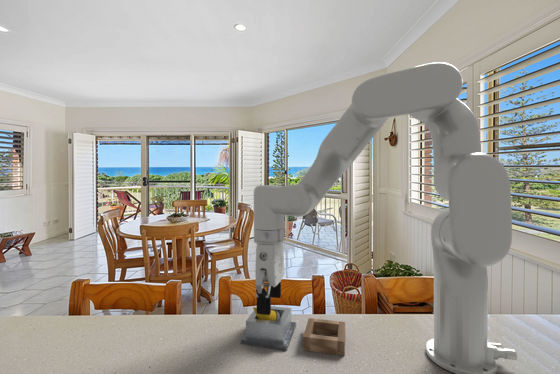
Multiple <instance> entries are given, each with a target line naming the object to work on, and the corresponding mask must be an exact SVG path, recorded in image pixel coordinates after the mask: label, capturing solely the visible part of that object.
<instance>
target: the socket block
mask: <svg viewBox="0 0 560 374" xmlns="http://www.w3.org/2000/svg"><path fill="white" fill-rule="evenodd" d="M302 350H303V351H305V352H306V351H307V352H313V353H314V352H315V353H321V354H329V355H335V356H342V357H345V354H346V352H345V351H346V321H342V320H341V321H338V320H332V319H331V320H330V319H329V320H328V319H322V318H321V319H320V318H311V317H309V318H308V320H307V323H306V326H305V330H304V332H303V337H302Z"/></svg>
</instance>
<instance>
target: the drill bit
mask: <svg viewBox="0 0 560 374" xmlns="http://www.w3.org/2000/svg"><path fill="white" fill-rule="evenodd" d="M252 308H253V311H255V313H256V315H257V317H258V319H261V320H270V321H278V322H279V320H280V315H279V313H278V312H277V311H276V310H274V309H271V313H270V315H263V314H257V308H256V307H254V306H253V307H252Z"/></svg>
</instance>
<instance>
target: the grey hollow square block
mask: <svg viewBox="0 0 560 374" xmlns="http://www.w3.org/2000/svg"><path fill="white" fill-rule="evenodd" d="M255 308H257V306H256V307H255ZM271 309H274V310H276V311H277V312H278V313H279V315H280V320H279V322H278V321H270V320H261V319H258V317H257V315H256V313H255V311H254V310H252V312H251V314H250V315H249V316H248V318H247V319H246V320H245V332H244V334H243V335H242V336H241V338H240V340H239V342H240V344H241V345H244V346H245V345H246V346H252V347H260V348H267V349H273V350H274V349H275V350H281V351H288V348H289V346H290V343H291V341H292V337H293V335H294V333H295V330H296V327H297V322H295V321H292V308H291V307H283V306H282V307H281V306H274V305H273V306H272V305H271Z"/></svg>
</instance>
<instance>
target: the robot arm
mask: <svg viewBox="0 0 560 374" xmlns="http://www.w3.org/2000/svg"><path fill="white" fill-rule="evenodd" d="M463 84H464V80H463V75H462V73H461V71H460V70H459V69H458V68H457V67H456V66H454V65H453V64H450V63H448V62H429V63H424V64H421V65H417V66H413V67H409V68H406V69H405V68H404V69H401V70H397V71H393V72H388V73H386V74H381V75H377V76H375V77H372V78H369V79H366V80H365V81H363V82H362V83H360V84H359V85H358V86H357V87H356V88H355V90H354V91H353V93H352V96H351V104H350V105H349V106H348V108H347V109H346V110H345V112H344V113H343V114H342V116H340V118H339V119H338V120H337V122H336V123H335V124H334V126H333V127H332V128H331V130H330V131H329V132H328V133H327V135H326V136H325V137H324V139H322V142H321V143H320V146H319V147H318V152H317V155H316V157H315V160H314V161H313V163H312V164H311V166H310V168H309V169H308V171H307V172H306V173H305V174H304V175H303V177H302V178H301V179H300V181H299V182H298V183H296V184H295V183H294V184H289V185H283V186H281V185H276V184H269V185H267V184H262V185H257V186H256V187H254V190H253V243H254V244H256V248H255V249H256V251H255V268H254V269H255V276H254V277H255V287H256V289H255V293H256V295H255V296H256V307H257V314H263V315H270V313H271V306H272V305H271V304H272V303H271V302H272V299H271V298H275V299H280V298H281V297H282V279H283V278H284V276H285V259H284V258H285V257H284V243H285V241H286V239H285V238H286V237H285V235H286V234H285V233H286V232H285V231H286V229H285V216H286V217H287V216H288V217H294V218H300V217H305V216H306V215H308V214H310V213H311V212H312V211H314V209H315V208H316V207H317V206H318V205H319V203H320V202H321V201H322V200H323V199H324V198H325V196H326V195H327V193H328V192H329V191H330V190H331V189H332V187H333V186H334V185H335V184H336V182H337V181H338V180H339V179H340V177H341V176H343V174H344V173H345V172H347V171H348V169H349V168H350V167H351V165H352V164H353V163H354V162H355V160H357V158H358V157H359V155H360V154H361V153H362V152H363V151H364V149H365V148H366V147H367V145H369V143H370V142H371V140H372V139H373V138H374V137H375V136H376V135H377V133H378V132H379V131H380V130H381V128H382V127H383V126H384V124H385V123H386V122H387V121H388V120H389V118H394V117H399V116H405V115H409V116H410V117H411V118H413V119H415V120H417V121H419V122H421V123H422V124H423V125H425V126H426V127H427V129H428V131H429V133H430V136H431V142H432V143H431V144H432V151H433V152H432V154H433V155H432V157H433V158H432V159H433V160H432V161H433V186H434V188H435V191H436V192H437V194H438V196H440V197H441V198H443V199H445V200H447V201H448V209H445V210H443V211H442V212H440V213H438V215H437V216H436V217H435V218H434V220H433V221H432V224H431V229H430V232H431V233H430V236H431V247H432V255H433V258H432V259H433V338H431V339H429V340H428V341H427V342H426V344H425V353H426V354H427V356H428V358H429V359H430V360H431V361H432V362H433V363H435V364H436V365H438V366H439V367H441V368H442V369H444V370H446V371H448V372H451V373H454V374H497V373H498V363H497V361H498V360H499V359H504V360H509V361H510V360H511V361H517V360H518V356H517V352H516V350H515V349H513V348H506V347H504V348H503V345H502V344H501V343H500V342H491V341H490V342H489V340H488V335H489V333H488V329H489V328H488V326H489V322H488V317H489V315H488V314H489V313H488V310H489V309H488V308H489V307H488V306H489V305H488V301H489V300H488V299H489V297H488V293H489V278H488V267H491V266H494V265H497V264H498V263H500V262H502V261H503V260H505V257H507V255H508V254H509V251H510V249H511V245H512V239H513V222H512V220H513V217H512V215H513V214H512V190H511V182H510V177H509V174H508V172H507V169H506V168H505V166H504V165H503V164H502V162H501V161H500V160H498V159H497V158H496V157H494V156H492V155H490V154H488V153H483V152H482V145H481V136H480V134H481V133H480V128H479V123H478V120H477V118H476V116H475V114H474V113H473V111H472V110H471V109H470V108H469V106H468V105H466V104H465V102H463V101H462V100H460V99H459V96H460V94H461V91H462V90H463ZM265 288H266V289H265Z"/></svg>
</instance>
